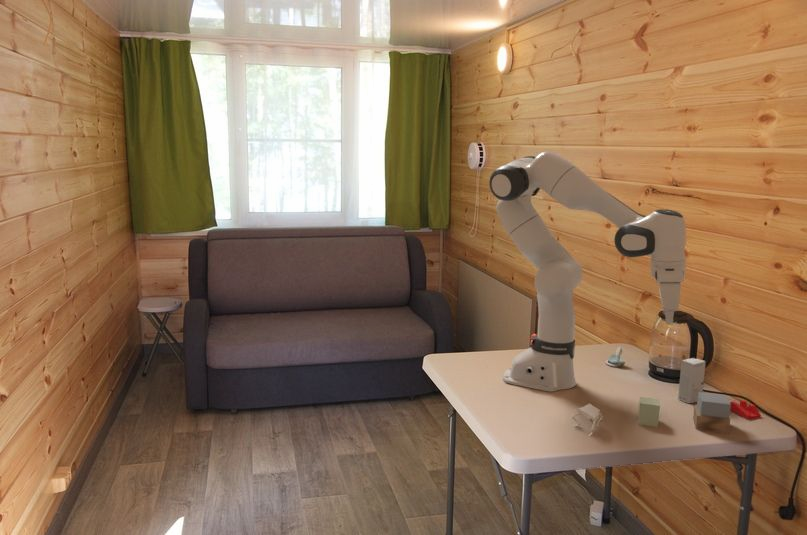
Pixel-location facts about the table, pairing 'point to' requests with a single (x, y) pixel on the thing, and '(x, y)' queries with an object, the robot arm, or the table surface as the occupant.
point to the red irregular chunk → (745, 410)
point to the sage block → (649, 411)
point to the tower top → (713, 405)
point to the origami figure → (590, 412)
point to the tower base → (710, 422)
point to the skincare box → (691, 379)
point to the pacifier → (615, 358)
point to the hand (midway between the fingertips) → (668, 319)
